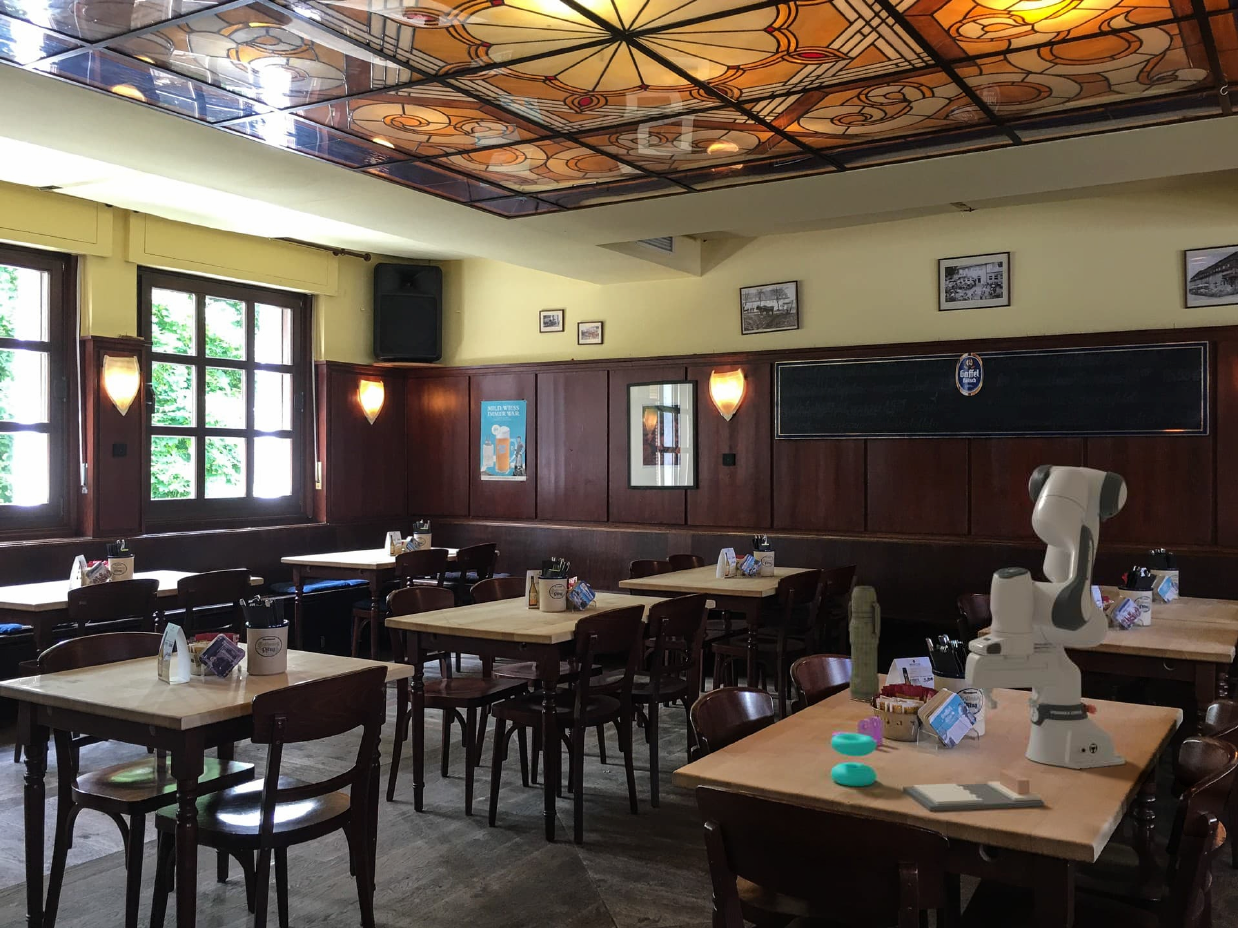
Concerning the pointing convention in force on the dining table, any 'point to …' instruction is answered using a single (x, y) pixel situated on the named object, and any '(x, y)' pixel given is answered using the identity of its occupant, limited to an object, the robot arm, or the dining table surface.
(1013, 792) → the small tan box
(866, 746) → the donuts
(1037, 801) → the pad
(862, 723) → the bracket
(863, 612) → the thermos
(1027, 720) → the dining table surface
